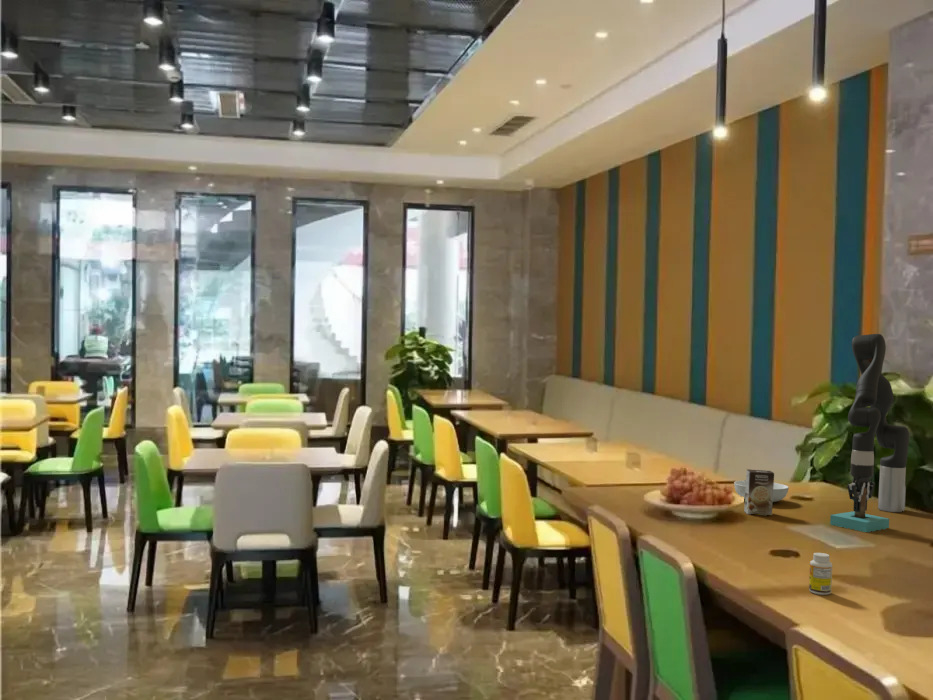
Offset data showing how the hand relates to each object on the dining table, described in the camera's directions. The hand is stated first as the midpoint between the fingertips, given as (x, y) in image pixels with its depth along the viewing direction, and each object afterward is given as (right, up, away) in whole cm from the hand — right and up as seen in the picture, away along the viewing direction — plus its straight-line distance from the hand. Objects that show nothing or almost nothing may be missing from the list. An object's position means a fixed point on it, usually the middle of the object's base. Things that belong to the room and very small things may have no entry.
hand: (860, 510), depth 336 cm
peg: (0, -4, 0) cm, 4 cm away
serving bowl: (-22, -4, +44) cm, 49 cm away
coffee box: (-31, -4, +18) cm, 36 cm away
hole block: (0, -6, 0) cm, 6 cm away
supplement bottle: (-46, -7, -86) cm, 98 cm away
